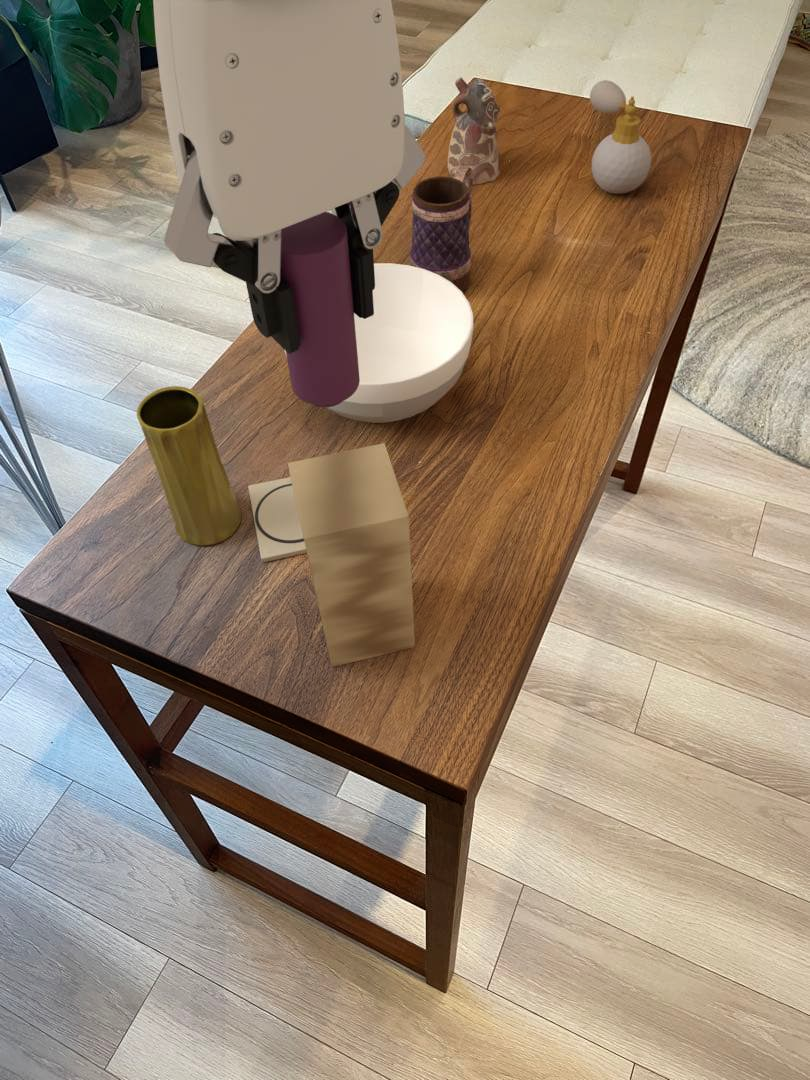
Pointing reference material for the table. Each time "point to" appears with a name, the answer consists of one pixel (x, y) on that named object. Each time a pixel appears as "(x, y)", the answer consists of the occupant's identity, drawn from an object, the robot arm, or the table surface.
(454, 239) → the mug
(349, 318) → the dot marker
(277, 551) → the sketch card
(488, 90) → the figurine
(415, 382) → the bowl
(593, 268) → the table surface
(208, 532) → the vase
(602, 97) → the perfume bottle
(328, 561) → the stand
